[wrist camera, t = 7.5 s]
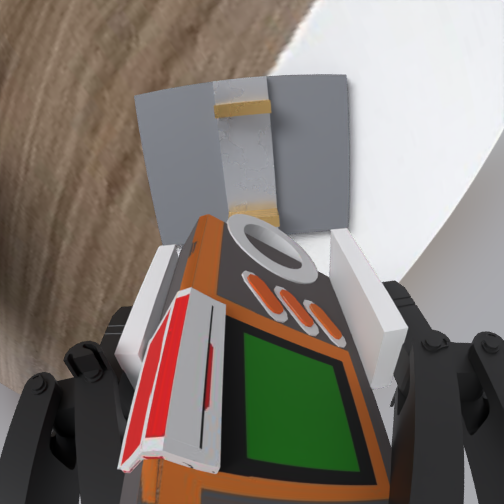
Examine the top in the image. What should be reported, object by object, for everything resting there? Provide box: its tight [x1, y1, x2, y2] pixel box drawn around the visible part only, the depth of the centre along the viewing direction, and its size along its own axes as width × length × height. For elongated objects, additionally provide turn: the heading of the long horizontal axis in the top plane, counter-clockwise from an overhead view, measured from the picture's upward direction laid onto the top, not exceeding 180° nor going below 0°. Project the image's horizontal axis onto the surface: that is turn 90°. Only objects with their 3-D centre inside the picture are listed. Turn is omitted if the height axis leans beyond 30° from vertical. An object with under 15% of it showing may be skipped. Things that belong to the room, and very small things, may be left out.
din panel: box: [134, 74, 349, 246], centre depth 32 cm, size 21×17×1 cm
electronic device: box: [117, 214, 392, 504], centre depth 10 cm, size 7×3×15 cm, turn 59°
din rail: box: [213, 76, 280, 228], centre depth 31 cm, size 5×17×3 cm, turn 5°
